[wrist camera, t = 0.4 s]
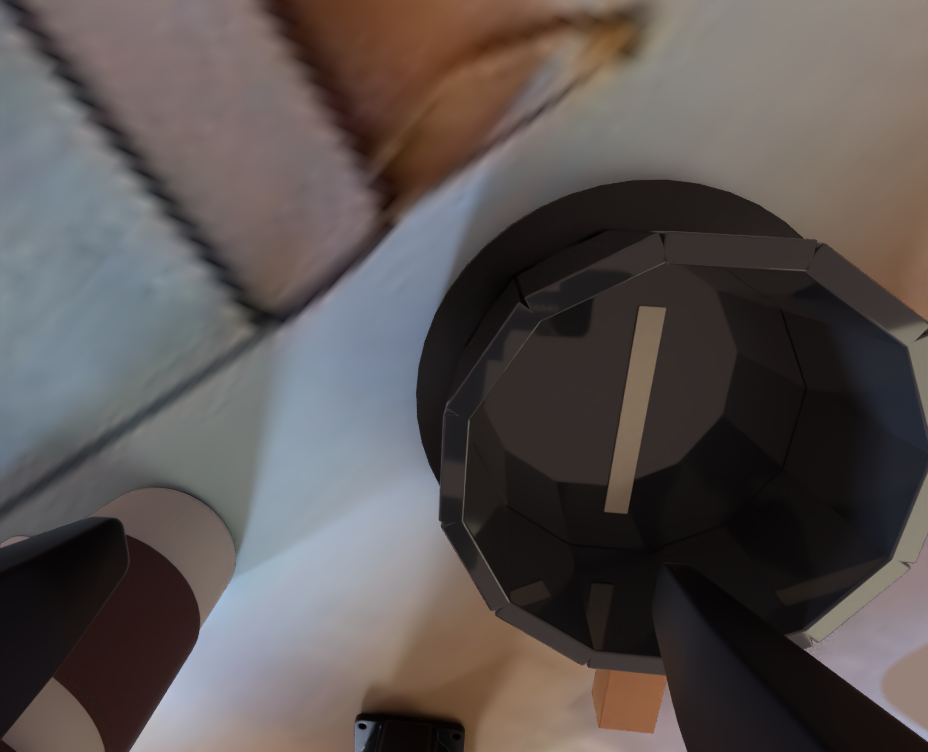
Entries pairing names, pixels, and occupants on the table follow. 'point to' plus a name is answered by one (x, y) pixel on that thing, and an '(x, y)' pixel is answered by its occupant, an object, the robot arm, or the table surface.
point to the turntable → (545, 237)
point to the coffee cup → (134, 628)
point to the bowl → (685, 444)
